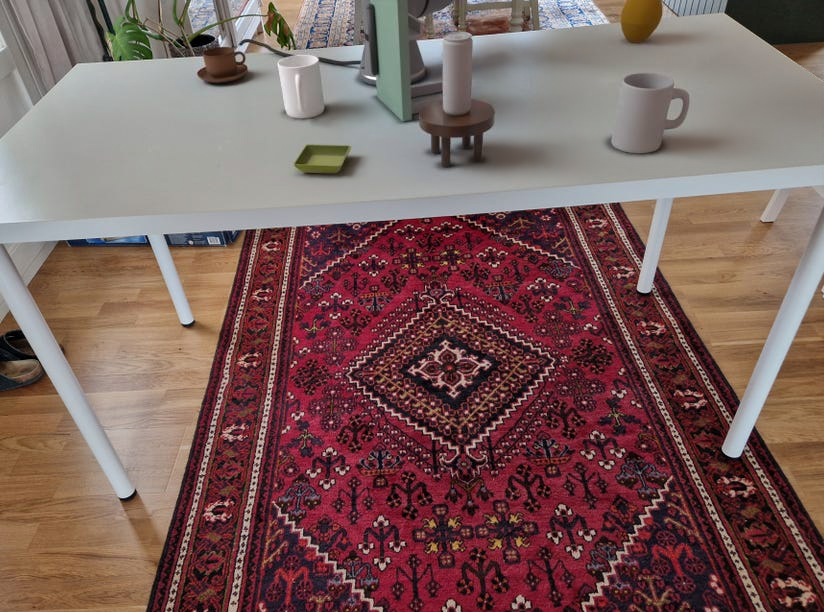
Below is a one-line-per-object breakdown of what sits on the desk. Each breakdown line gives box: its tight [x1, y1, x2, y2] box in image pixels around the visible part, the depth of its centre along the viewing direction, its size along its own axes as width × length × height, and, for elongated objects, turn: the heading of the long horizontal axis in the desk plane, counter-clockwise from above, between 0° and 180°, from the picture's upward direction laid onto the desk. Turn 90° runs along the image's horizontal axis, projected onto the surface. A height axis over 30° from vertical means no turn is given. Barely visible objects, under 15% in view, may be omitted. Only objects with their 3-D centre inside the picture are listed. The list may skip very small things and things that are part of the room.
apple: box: [620, 0, 664, 43], centre depth 157 cm, size 10×10×12 cm
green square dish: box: [293, 143, 352, 174], centre depth 114 cm, size 9×9×2 cm
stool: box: [418, 98, 496, 168], centre depth 112 cm, size 13×13×8 cm
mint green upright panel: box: [366, 0, 443, 123], centre depth 128 cm, size 16×16×22 cm
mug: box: [610, 72, 690, 154], centre depth 111 cm, size 12×8×11 cm
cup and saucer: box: [196, 46, 248, 84], centre depth 153 cm, size 12×12×6 cm
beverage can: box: [442, 31, 474, 116], centre depth 106 cm, size 5×5×12 cm
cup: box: [277, 54, 325, 119], centre depth 131 cm, size 8×12×10 cm
